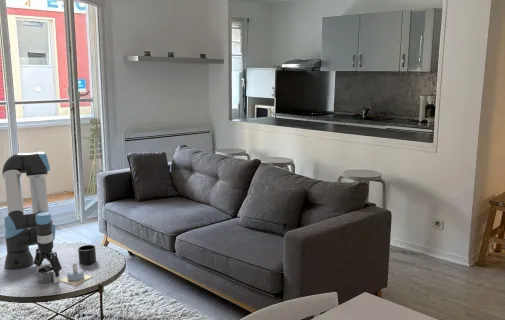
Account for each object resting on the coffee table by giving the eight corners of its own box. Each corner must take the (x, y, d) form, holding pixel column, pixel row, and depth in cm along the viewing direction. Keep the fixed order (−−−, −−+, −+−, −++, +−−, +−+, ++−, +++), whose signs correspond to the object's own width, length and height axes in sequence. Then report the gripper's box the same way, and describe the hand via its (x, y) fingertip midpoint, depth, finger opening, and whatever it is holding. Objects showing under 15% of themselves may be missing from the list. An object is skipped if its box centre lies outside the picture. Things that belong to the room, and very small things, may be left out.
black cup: (82, 268, 275) (81, 253, 274) (77, 261, 285) (76, 247, 284) (99, 264, 281) (98, 249, 279) (93, 258, 290) (92, 243, 289)
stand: (41, 280, 259) (40, 266, 258) (49, 277, 263) (48, 263, 262) (47, 282, 257) (46, 268, 255) (55, 279, 261) (54, 265, 259)
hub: (59, 280, 259) (57, 264, 257) (77, 272, 269) (76, 257, 267) (74, 285, 253) (73, 269, 251) (92, 277, 263) (91, 261, 261)
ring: (35, 281, 258) (34, 270, 257) (50, 275, 266) (49, 264, 265) (46, 285, 254) (45, 274, 253) (61, 278, 262) (60, 268, 261)
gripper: (24, 240, 259) (27, 277, 263) (54, 247, 247) (57, 287, 251) (36, 235, 265) (40, 272, 269) (66, 243, 253) (69, 281, 257)
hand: (48, 279), depth 260 cm, fingers open, 12 cm apart
